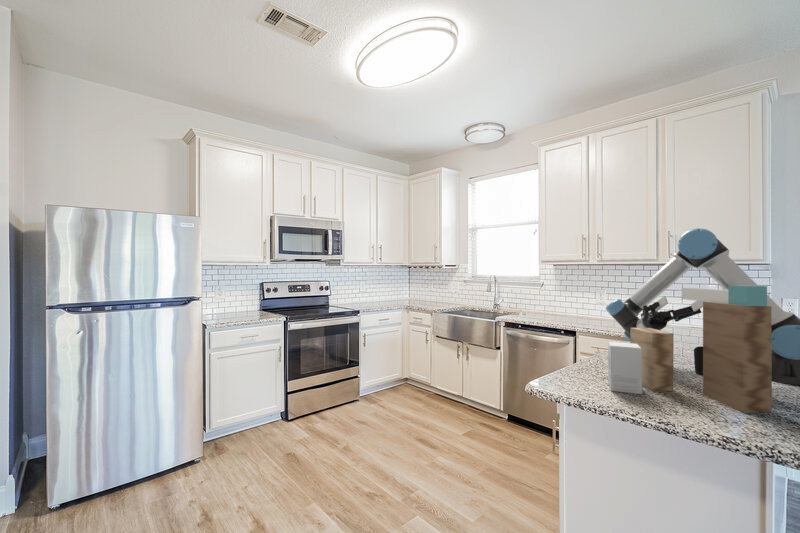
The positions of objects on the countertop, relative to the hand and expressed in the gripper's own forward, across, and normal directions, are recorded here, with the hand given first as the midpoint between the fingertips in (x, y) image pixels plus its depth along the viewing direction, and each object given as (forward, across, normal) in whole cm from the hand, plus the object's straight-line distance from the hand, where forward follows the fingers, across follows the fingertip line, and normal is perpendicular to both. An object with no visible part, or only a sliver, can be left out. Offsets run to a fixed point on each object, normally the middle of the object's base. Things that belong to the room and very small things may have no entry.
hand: (685, 299), depth 130 cm
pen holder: (-26, -18, -19) cm, 38 cm away
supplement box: (-9, +25, -29) cm, 40 cm away
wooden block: (-13, +13, -27) cm, 33 cm away
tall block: (+1, -1, -35) cm, 35 cm away
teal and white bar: (+11, -1, -6) cm, 13 cm away
